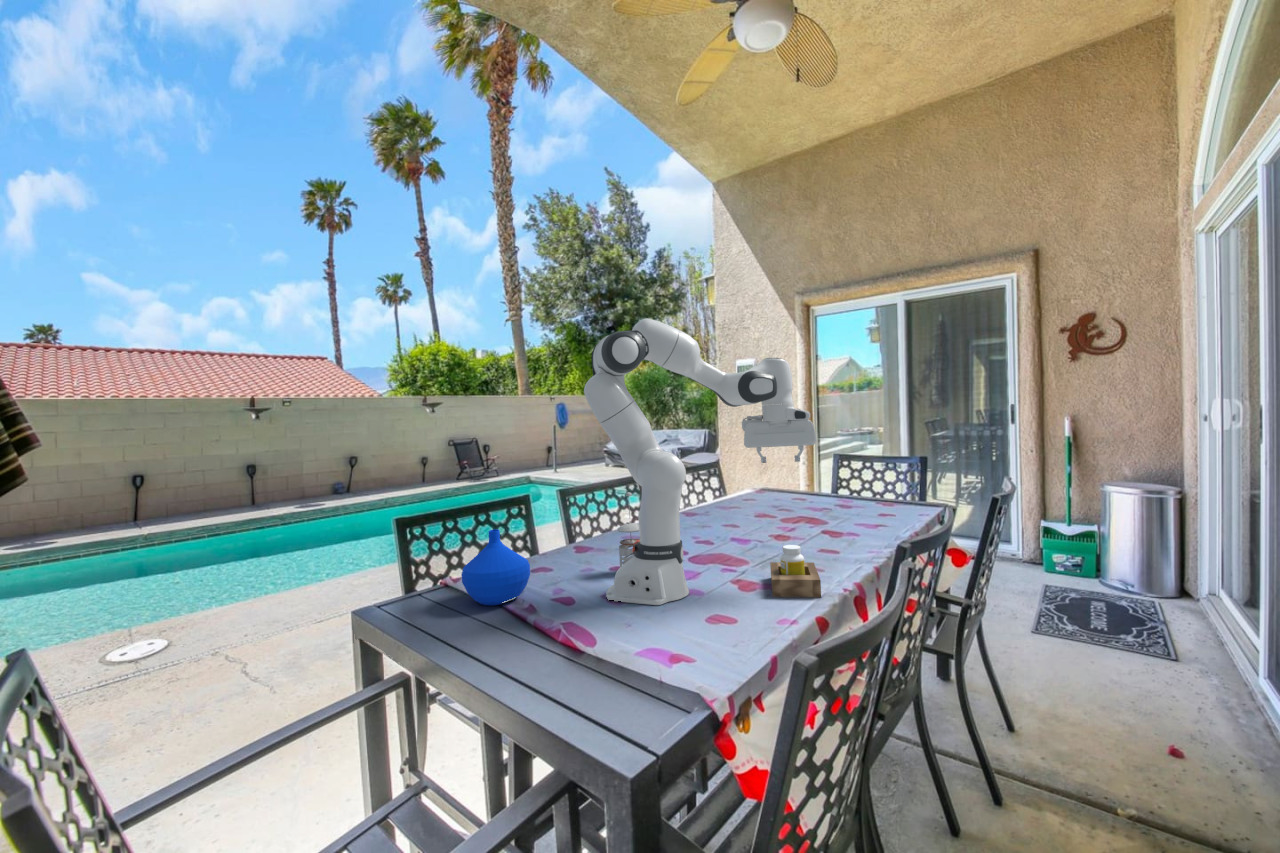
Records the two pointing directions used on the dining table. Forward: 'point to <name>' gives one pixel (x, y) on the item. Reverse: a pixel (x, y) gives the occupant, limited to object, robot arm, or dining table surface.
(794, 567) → the pill bottle
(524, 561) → the vase
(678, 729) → the dining table surface
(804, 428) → the robot arm
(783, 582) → the box
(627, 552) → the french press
